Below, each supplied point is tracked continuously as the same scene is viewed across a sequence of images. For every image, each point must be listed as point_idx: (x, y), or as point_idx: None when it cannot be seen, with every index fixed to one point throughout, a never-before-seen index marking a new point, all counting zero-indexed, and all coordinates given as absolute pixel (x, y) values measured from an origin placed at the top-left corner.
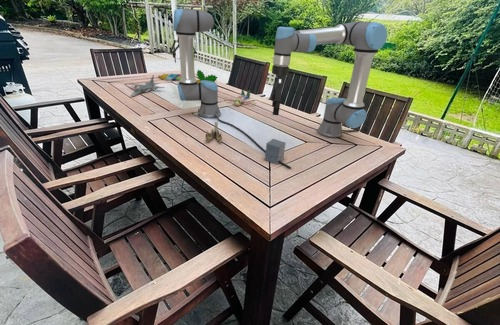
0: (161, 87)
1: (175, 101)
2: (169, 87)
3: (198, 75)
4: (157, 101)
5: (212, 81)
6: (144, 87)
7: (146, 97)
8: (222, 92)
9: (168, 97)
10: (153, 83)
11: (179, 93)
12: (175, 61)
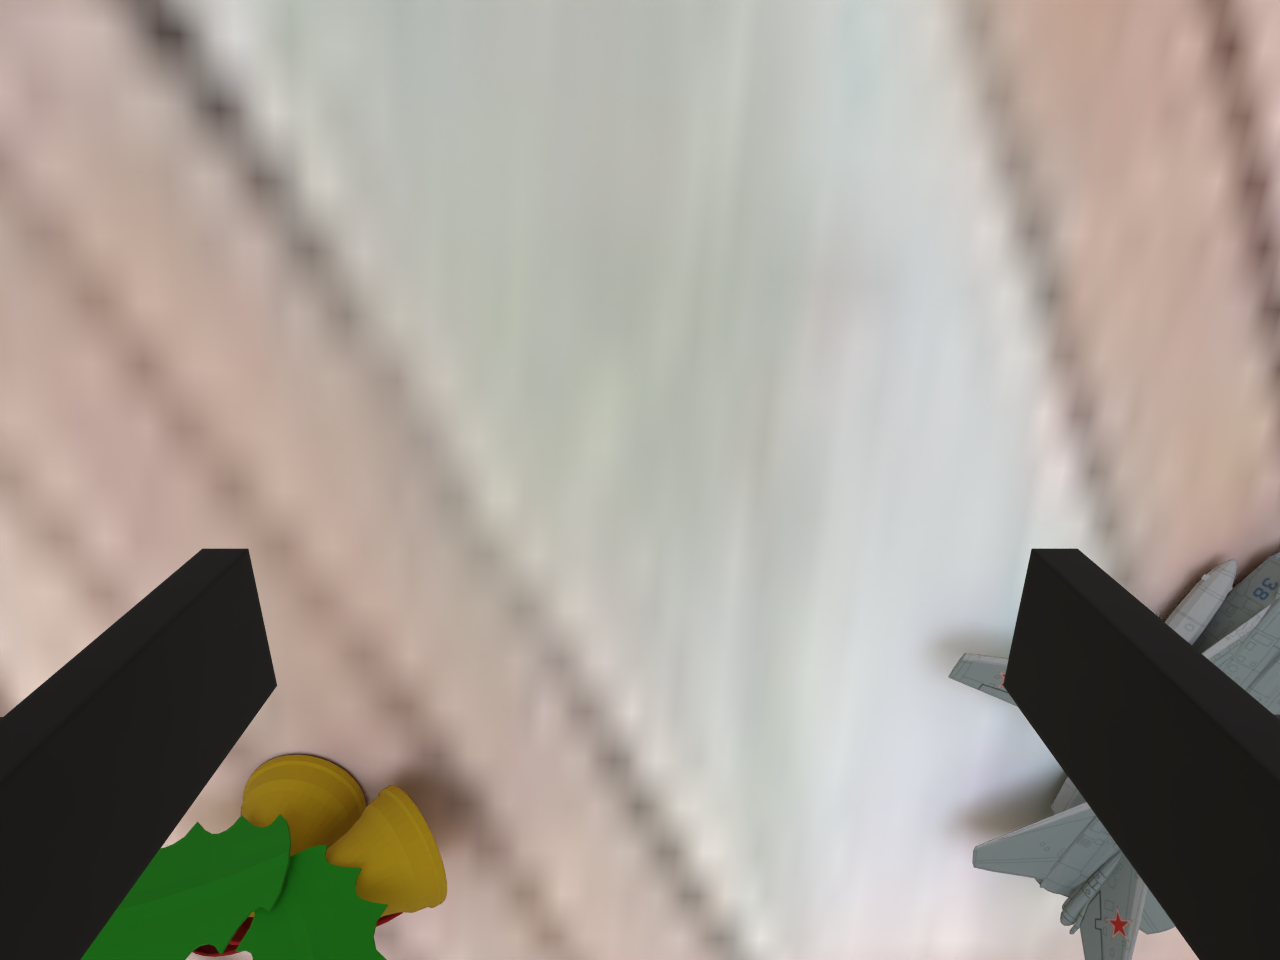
0: (998, 660)
1: (848, 29)
2: (832, 820)
3: (356, 958)
4: (1150, 54)
5: (158, 861)
6: (1255, 663)
7: (1264, 321)
8: (40, 548)
9: (927, 300)
10: (1078, 853)
11: None
12: (1071, 573)
